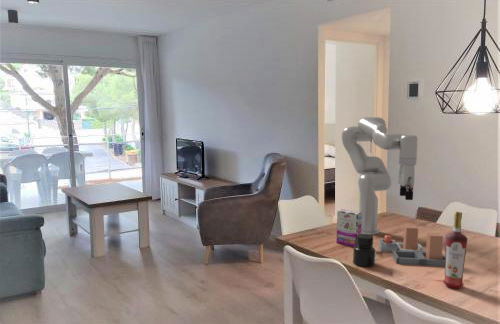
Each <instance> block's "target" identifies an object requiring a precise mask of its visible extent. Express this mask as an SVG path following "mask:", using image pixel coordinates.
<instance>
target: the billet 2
mask: <svg viewBox="0 0 500 324" xmlns="http://www.w3.org/2000/svg"><path fill="white" fill-rule="evenodd" d="M443 241H444V235H442V234H441V233H440V232H428V231H427V232H426V247H425V251H426V259H437V260H442V253H443Z"/></svg>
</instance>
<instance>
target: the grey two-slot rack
mask: <svg viewBox="0 0 500 324" xmlns="http://www.w3.org/2000/svg"><path fill="white" fill-rule="evenodd" d="M391 255H392V258H393V260H394V262H395V263H396V264H397V265H410V266H411V265H412V266H413V265H414V266H428V267H429V266H434V267H445V253H443V252H442V260H437V259H426V252H413V251H398V250H397V251H392V252H391Z"/></svg>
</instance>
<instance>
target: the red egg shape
mask: <svg viewBox="0 0 500 324" xmlns="http://www.w3.org/2000/svg"><path fill="white" fill-rule="evenodd" d="M392 238H393V237H392V235H387V234H385V235H384V239H385V240H384V243H391V239H392Z"/></svg>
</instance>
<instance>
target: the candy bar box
mask: <svg viewBox="0 0 500 324" xmlns="http://www.w3.org/2000/svg"><path fill="white" fill-rule="evenodd" d="M336 213H337V217H336V218H337V220H336V221H337V222H336V224H337V225H336V244H339V245H344V246H348V247H353V248H354V247H355V246H356V245H357V244H356V243H357V242H356V238H357V235H359V234H362V213H361V212H359V211H353V210H349V209H339V210H337V212H336Z"/></svg>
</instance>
